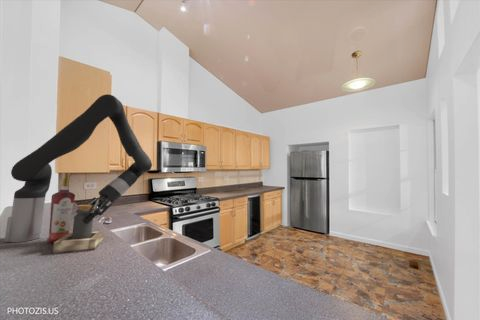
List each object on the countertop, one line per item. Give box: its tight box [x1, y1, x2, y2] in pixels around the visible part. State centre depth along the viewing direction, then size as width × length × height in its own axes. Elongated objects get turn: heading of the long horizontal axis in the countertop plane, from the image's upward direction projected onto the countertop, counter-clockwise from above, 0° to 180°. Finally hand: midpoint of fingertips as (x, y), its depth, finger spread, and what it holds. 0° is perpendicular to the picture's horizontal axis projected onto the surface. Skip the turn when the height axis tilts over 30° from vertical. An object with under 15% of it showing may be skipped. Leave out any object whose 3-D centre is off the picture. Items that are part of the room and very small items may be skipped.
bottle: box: [71, 203, 94, 240], centre depth 76 cm, size 6×6×15 cm
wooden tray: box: [52, 230, 105, 255], centre depth 75 cm, size 12×12×4 cm
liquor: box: [46, 172, 76, 245], centre depth 81 cm, size 7×7×28 cm
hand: (79, 221), depth 75 cm, fingers open, 8 cm apart
